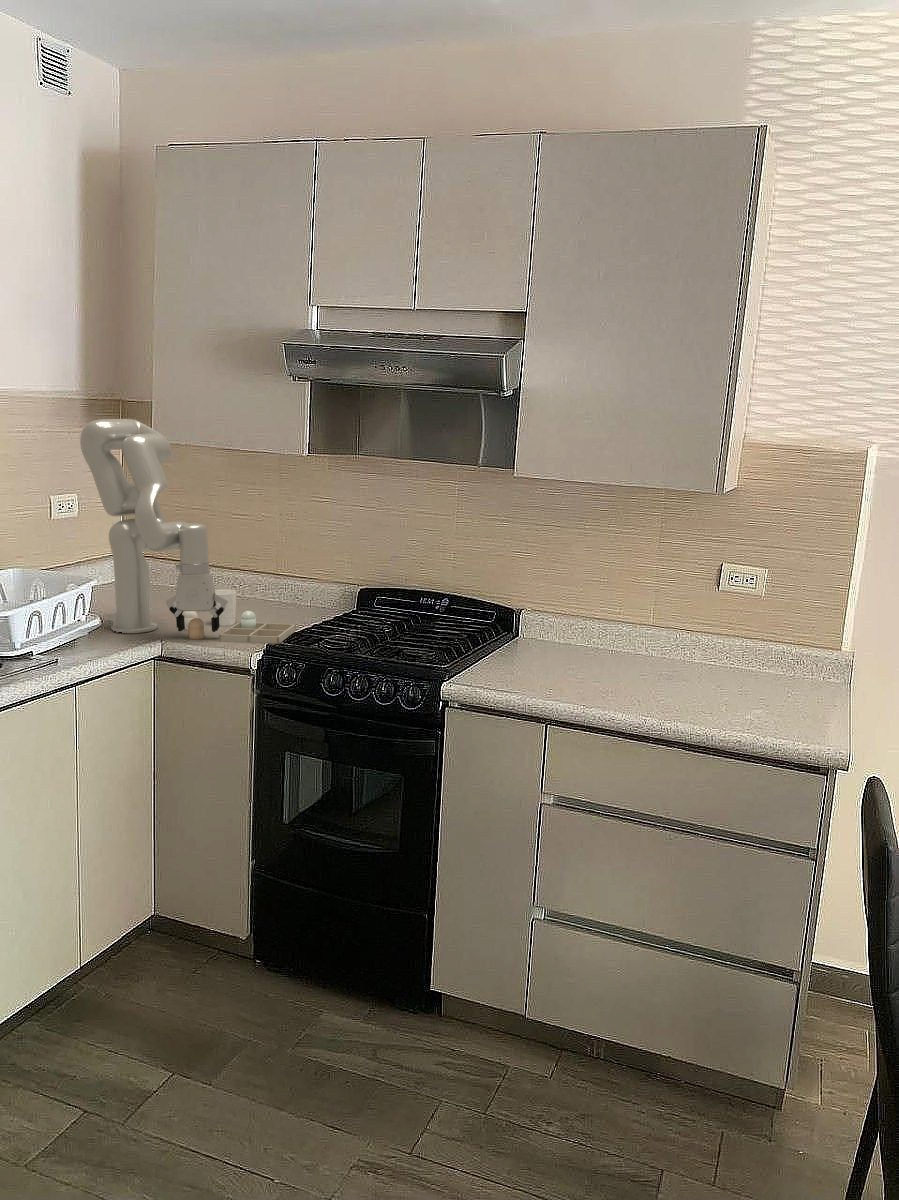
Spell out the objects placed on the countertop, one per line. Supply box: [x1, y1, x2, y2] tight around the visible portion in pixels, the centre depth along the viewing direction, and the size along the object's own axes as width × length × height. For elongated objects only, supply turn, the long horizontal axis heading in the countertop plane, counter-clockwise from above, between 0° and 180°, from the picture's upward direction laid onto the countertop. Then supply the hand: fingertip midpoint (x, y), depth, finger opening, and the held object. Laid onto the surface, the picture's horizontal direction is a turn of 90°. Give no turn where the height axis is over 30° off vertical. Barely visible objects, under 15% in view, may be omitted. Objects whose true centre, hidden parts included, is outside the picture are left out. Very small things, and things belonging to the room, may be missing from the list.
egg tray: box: [218, 621, 297, 645], centre depth 294 cm, size 17×17×2 cm
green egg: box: [240, 610, 257, 629], centre depth 298 cm, size 4×4×6 cm
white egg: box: [182, 611, 199, 631], centre depth 302 cm, size 4×4×6 cm
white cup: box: [210, 589, 237, 627], centre depth 309 cm, size 8×8×10 cm
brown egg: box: [188, 617, 205, 640], centre depth 291 cm, size 4×4×6 cm
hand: (198, 630), depth 290 cm, fingers open, 9 cm apart
